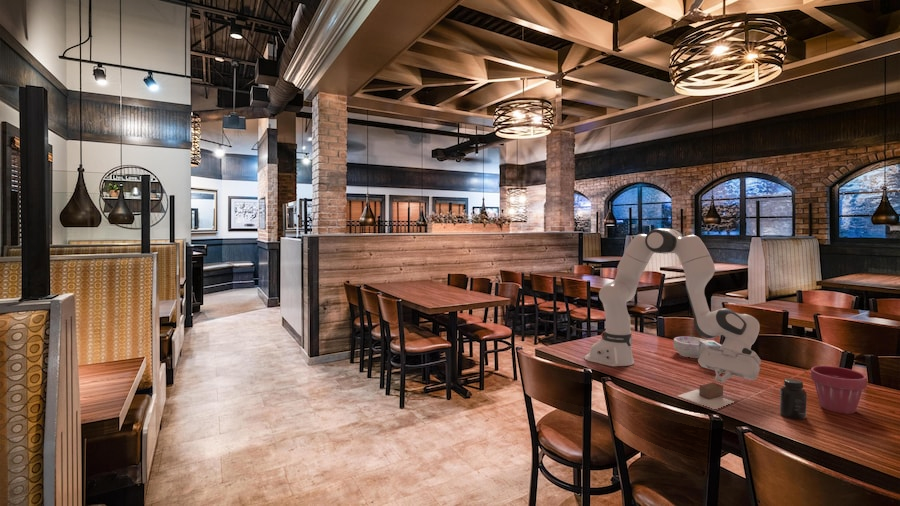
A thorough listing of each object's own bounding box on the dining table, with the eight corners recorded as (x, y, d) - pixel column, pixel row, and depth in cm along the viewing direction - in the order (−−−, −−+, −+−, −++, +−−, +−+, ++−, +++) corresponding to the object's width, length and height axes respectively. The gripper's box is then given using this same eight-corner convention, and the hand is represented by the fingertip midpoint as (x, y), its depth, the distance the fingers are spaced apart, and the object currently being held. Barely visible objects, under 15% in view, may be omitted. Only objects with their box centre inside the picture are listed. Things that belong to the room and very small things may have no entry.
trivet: (696, 390, 163) (696, 389, 163) (734, 402, 151) (735, 401, 151) (677, 396, 158) (677, 395, 158) (715, 410, 146) (715, 408, 146)
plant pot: (852, 420, 135) (853, 381, 135) (801, 404, 148) (802, 369, 148) (874, 412, 141) (875, 374, 140) (824, 397, 154) (824, 363, 153)
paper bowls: (696, 362, 198) (696, 345, 198) (666, 354, 212) (666, 338, 211) (715, 357, 205) (715, 341, 205) (685, 349, 219) (685, 334, 218)
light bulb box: (724, 369, 187) (724, 345, 186) (707, 368, 188) (707, 345, 188) (714, 362, 197) (714, 339, 197) (698, 361, 199) (698, 339, 198)
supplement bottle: (774, 412, 143) (774, 377, 142) (793, 410, 143) (793, 376, 143) (792, 421, 136) (793, 384, 135) (812, 419, 137) (812, 383, 136)
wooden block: (712, 391, 160) (698, 395, 157) (713, 381, 160) (699, 385, 157) (723, 396, 156) (708, 399, 153) (723, 385, 156) (709, 389, 153)
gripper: (703, 341, 170) (688, 368, 166) (760, 353, 152) (744, 384, 148) (710, 350, 173) (695, 377, 169) (766, 363, 155) (751, 394, 150)
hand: (719, 381), depth 158 cm, fingers closed
